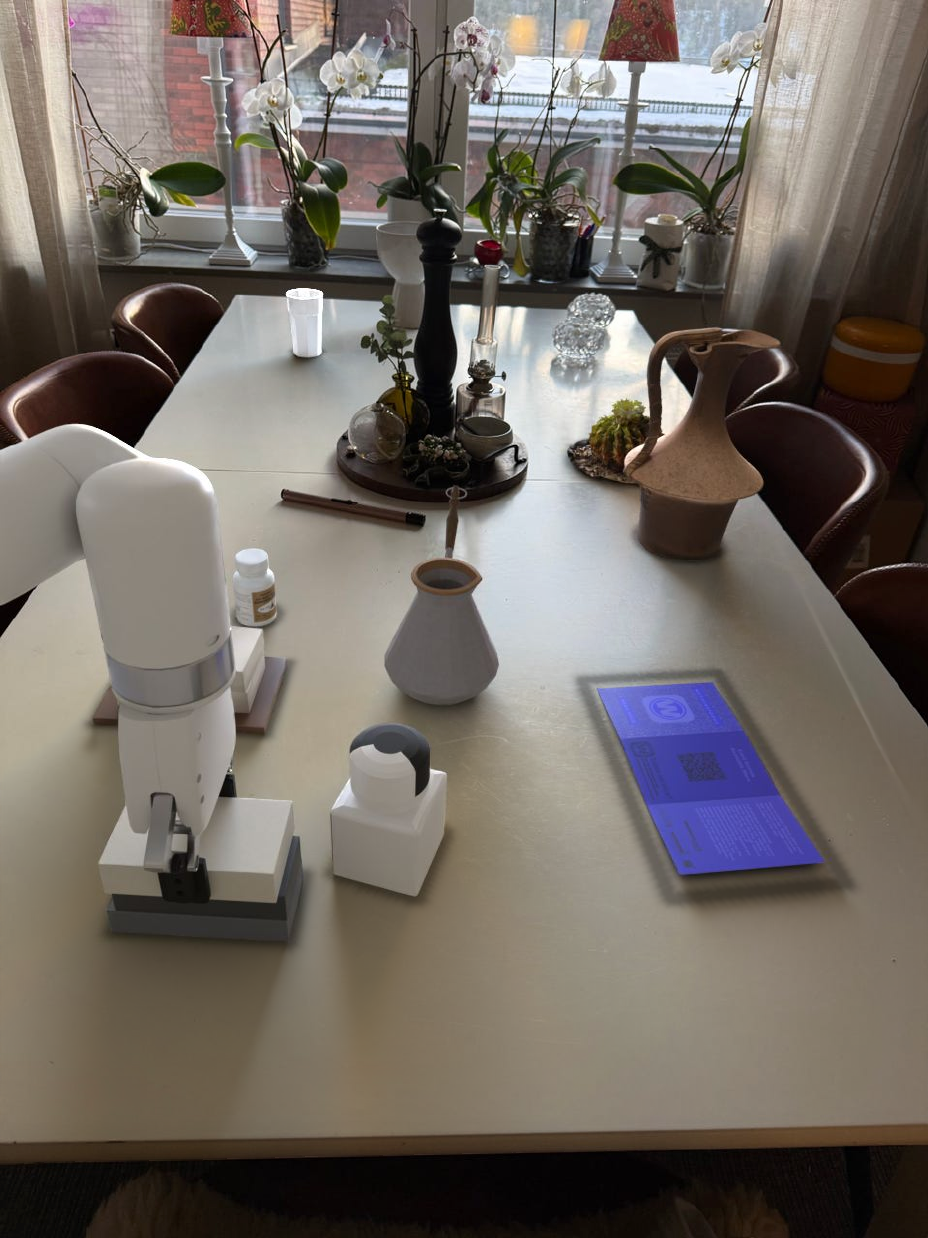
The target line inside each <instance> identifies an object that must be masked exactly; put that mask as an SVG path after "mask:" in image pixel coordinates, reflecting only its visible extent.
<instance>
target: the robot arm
mask: <svg viewBox="0 0 928 1238" xmlns="http://www.w3.org/2000/svg"><path fill="white" fill-rule="evenodd" d="M218 508H219V507H218V502H217V497H216V493H215V490H214V487H213V484H212V483H211V481H210V480H209V478H208V477H207V475H206V474H204V473H203V472H202V471H201V470H200V469H198V468H196V467H194V466H192V465H191V464H188V463H186V462H183V461H181V460H175V459H171V458H170V459H169V458H159V457H150V456H148V455H146V454H144V453H142V452H141V451H139V450H137V449H135V448H133V447H132V446H130V445H128V444H127V443H125V442H123V441H122V440H120V439H119V438H117V437H115V436H113V435H112V434H110V433H108V432H106V431H104V430H101V429H99V428H96V427H94V426H91V425H87V424H82V423H81V424H79V423H71V424H63V425H59V426H55V427H53V428H50V429H47V430H45V431H43V432H40V433H38V434H36V435H34V436H31V437H30V438H27V439H24V440H22V441H20V442H18V443H16V444H12V445H9V446H7V447H5V448H2V449H0V606H3V605H5V604H7V603H10V602H11V601H13V600H15V599H17V598H19V597H21V596H23V595H24V594H26V593H27V592H29V591H31V590H32V589H34V588H35V587H38V586H39V585H41V584H42V583H44V582H45V581H47V580H49V579H51V578H53V577H55V575H57V574H59V573H60V572H62V571H64V570H65V569H67V568H69V567H71V566H72V565H74V564H75V563H77V562H79V561H82V560H85V563H86V568H87V569H86V570H87V574H88V578H89V583H90V589H91V592H92V593H91V594H92V597H93V603H94V607H95V612H96V617H97V618H96V619H97V623H98V628H99V631H100V637H101V642H102V646H103V652H104V656H105V660H106V667H107V671H108V676H109V680H110V681H109V682H110V686H112V690H113V693H114V695H115V697H116V698H117V699H118V700H119V701H120V702H121V703H120V707H119V716H118V726H117V728H118V731H117V732H118V733H117V734H118V749H119V751H118V752H119V763H120V764H119V765H120V773H121V779H122V788H123V793H124V802H125V805H126V807H127V813H128V819H129V823H130V826H131V829H132V830H133V832H134V833H141V834H146V833H147V830H148V828H149V831H148V838H147V844H146V850H145V857H144V864H143V867H144V870H145V871H150V872H157V873H158V878H159V883H160V888H161V893H162V898H163V899H164V900H165V901H167V902H176V903H200V904H206V903H208V902H209V900H210V896H211V892H210V886H209V879H208V873H207V866H206V860H205V858H202V857H200V833H201V832H202V831H203V830H204V829H205V828H206V827H207V825H208V823H209V820H210V818H211V815H212V812H213V810H214V807H215V804H216V801H217V799H218V797H231V798H238V796H237V785H236V779H235V774H233V773H232V772H233V768H234V757H233V754H234V751H235V746H236V740H237V739H236V738H237V735H236V734H237V733H236V730H235V717H234V708H233V701H232V695H231V689H230V686H231V684H232V683H233V680H234V678H235V674H236V667H235V659H234V651H233V642H232V633H231V626H232V625H231V617H230V616H231V615H230V607H229V606H230V605H229V597H228V589H227V579H226V572H225V563H224V554H223V553H224V552H223V545H222V536H221V527H220V516H219V509H218ZM176 812H177V815H178V817H179V818H180V820H175V819H176ZM173 834H186V835H187V852H182V851H172V849H171V847H172V839H173Z"/></svg>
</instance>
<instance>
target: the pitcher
mask: <svg viewBox="0 0 928 1238" xmlns="http://www.w3.org/2000/svg"><path fill="white" fill-rule="evenodd" d="M679 346H684V347H685V349H686V351H687V352H688V355H689V357H690V360H691V361H692V363H693V364H694V366H696V367H697V369H698V371H697V372H698V373H697V380H696V384H695V388H694V392H693V395H692V398H691V401H690V404H689V406H688V409H687V411H686V413H685V415H684V416H683V418H682V419H681V420H680V422H679V423H678V424H677V425H676V426H675V427H674V428H673V429H671V430H670V431H669V432H667V433H665V435H664V436H662V437H660V438H658V437H659V432H660V429H662V419H663V416H662V415H663V398H662V395H663V394H662V386H661V385H662V384H661V382H662V381H661V380H662V379H661V377H662V367H663V361H664V359H665V357H666V355H667V354H668V353H669V352H670V351H671V350H672V349H675V348H676V347H679ZM780 348H781V342H780V340H779V339H777V338H775V337H772V336H771V335H768V334H766V333H763V332H759V331H756V330H752V329H740V330H735V331H731V332H727V333H724V334H723V329H722V328H721V327H707V328H695V329H684V330H677V331H672V332H669V333H667V334H665V335H663V336H662V337H661V338H659V340H657V342H655V344H654V345H653V346H652V349H651V351H650V353H649V355H648V360H647V366H646V386H647V397H648V404H649V405H648V409H649V417H650V424H649V432H648V437H647V439H646V441H645V444H643V445H640V446H638V447H636V448H634V449H632V450H631V451H630V452H629V453H628V454H627V456H626V457H625V460H624V466H625V468H624V470H623V472H624V474H625V476H626V477H628V478H629V479H631V480H633V481H635V482H636V483H635V484H638V486H639V516H638V517H639V518H638V525H637V526H638V527H637V533H636V535H637V539H638V541H639V543H640V544H641V545H642V546H643V547H644V548H645V549H646V550H648V551H649V552H651V553H653V554H655V555H658V556H661V557H662V558H663V557H664V558H666V559H670V560H677V561H686V562H695V561H702V560H703V561H704V560H708V559H710V558H713V557H714V556H716V555H717V554H718V553H719V551H720V549H721V545H722V541H723V538H724V536H725V533H726V529H727V527H728V524H729V522H730V519H731V516H732V514H733V512H734V510H735V508H736V506H737V504H738V502H739V500H745V499H747V498H750V497H753V496H755V495H757V494H758V493H760V492H761V491H762V489H763V487H764V480H763V477H762V475H761V473H760V472H759V470H757V469H756V468H755V467H754V466H753V464H751V463H750V462H748V460H747V459H745V458H744V457H743V455H742V454H741V453H740V452H739V450H737V448H736V447H735V446H734V443H733V442H732V440H731V438H730V435H729V432H728V429H727V423H726V405H727V400H728V394H729V390H730V387H731V385H732V382H733V379H734V376H735V375H736V373H737V371H738V369H739V367H740V366H741V364H742V363H743V362H744V361H746V360H747V358H749V357H750V356H752V355H753V353H758V352H759V351H764V350H774V349H780Z"/></svg>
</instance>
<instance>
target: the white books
mask: <svg viewBox="0 0 928 1238" xmlns="http://www.w3.org/2000/svg"><path fill="white" fill-rule="evenodd" d="M231 633H232V642H233V651H234V659H235V667H236V674H235V678H234V680H233V683H232V684H231V686H230V689H231V695H232V701H233V708H234V717H235V730H236V734H251V735H266V732H267V729H268V726H269V723H270V721H271V716H272V714H273V712H274V711H273V710H274V708H275V704H276V701H277V698H278V695H279V691H280V689H281V686H282V682H283V679H284V676H285V673H286V669H287V667H288V658H287V657H276V656H265V639H264V629H263V628H258V627H256V628H255V627H247V626H246V627H245V626H233V625H231ZM120 703H121V702H120V701H119V700H118V699H117V698H116V697H115V695H114V693H113V690H112V686H111V685H109V688H108V689H107V691H106V693H105V694H104V696H103V697H102V700H101V701H100V703H99V705H98V707H97V708H96V711H95V712H94V713H93V716H92V723H93V725H95V726H97V725H98V726H112V727H113V726H114V727H118V716H119V707H120Z"/></svg>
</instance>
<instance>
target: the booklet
mask: <svg viewBox="0 0 928 1238" xmlns="http://www.w3.org/2000/svg"><path fill="white" fill-rule="evenodd" d="M596 690H597V692H598V694H599V697H600V699H601V701H602V703H603V705H604V707H605V710H606V712H607V715H608V716H609V719H610V720H611V722H612V724H613V727H614V729H615V731H616V734H617V736H618V738H619V740H620V742H621V745H622V747H623V750H624V753H625V755H626V757H627V760H628V762H629V765H630V767H631V770H632V773H633V775H634V777H635V780H636V782H637V783H636V784H637V786H638V788H639V790H640V792H641V795H642V798H643V800H644V802H645V805H646V807H647V809H648V811H649V814H650V816H651V818H652V820H653V822H654V825H655V826H656V828H657V830H658V832H659V834H660V837H661V840H662V841H663V843H664V845H665V847H666V849H667V851H668V854H669V855H670V858H671V860H672V862H673V864H674V866H675V868H676V871H677V872H678V875H679V876H684V875H695V874H696V875H697V874H708V873H709V874H710V873H716V872H717V873H721V872H731V871H742V870H743V871H744V870H755V869H766V868H776V867H787V866H788V867H789V866H799V865H800V866H801V865H810V864H811V865H812V864H822V863H823V864H824V863H826V861H825V860H824V858H823V857H822V855H821V854H820V852H819V851H818V850H817V848H816V846H815V845H814V843H813V842H812V840H811V838H810V837H809V836H808V835H807V833H806V831H805V830H804V828H803V827H802V825H801V824H800V822H799V821H798V820H797V818H796V816H795V815H794V813H793V812H792V810H791V809H790V808H789V805H787V803H786V801H785V800H784V798H783V797H782V795H781V794H780V791H779V790H778V789H777V787H776V785H775V783H774V782H773V779H772V778H771V776H770V774H769V773H768V771H767V769H766V767H765V765H764V763H763V761H762V760H761V758H760V756H759V754H758V753H757V751H756V748H755V747H754V745H753V744H752V742H751V740H750V738H749V736H748V735H747V733H746V731H745V730H744V729H743V727H742V725H741V724H740V722H739V720H738V719H737V717H736V716H735V714H734V713H733V711H732V709H731V708H730V707H729V705H728V703H727V702H726V701H725V699H724V698H723V696H722V694H721V692H720V691H719V690H718V688H717V687H716V685H715V683H714V682H713V681H711V682H710V681H709V682H708V681H707V682H691V683H688V682H687V683H673V684H654V685H637V686H620V687H619V686H618V687H617V686H616V687H602V688H601V687H600V688H596Z"/></svg>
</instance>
